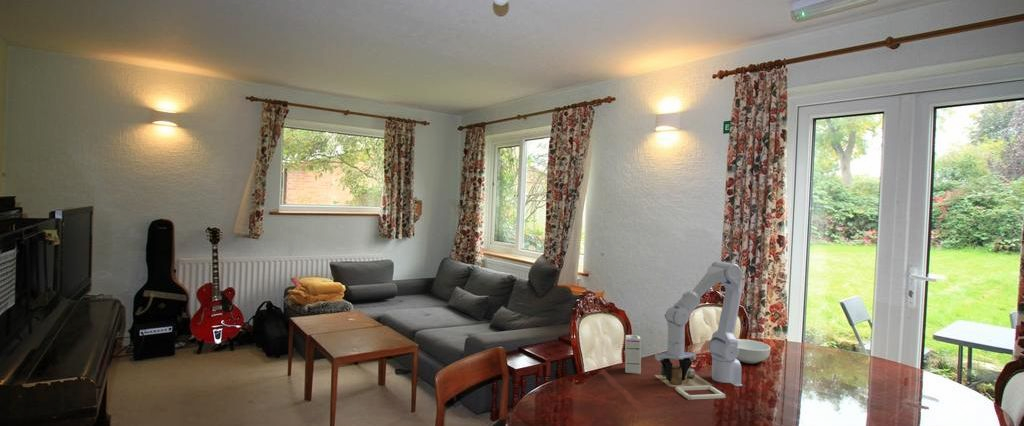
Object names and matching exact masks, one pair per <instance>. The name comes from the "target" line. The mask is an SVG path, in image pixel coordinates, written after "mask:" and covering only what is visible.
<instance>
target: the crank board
mask: <svg viewBox="0 0 1024 426" xmlns="http://www.w3.org/2000/svg"><path fill="white" fill-rule="evenodd" d="M654 376H655V378H657V379H659V381H661V382H663V383H664V384H665V385H666V386H668V387H673V388H675V387H681V386H704V385H711V386H713V384H712V383H710V382H709V381H707V380H705V379H703V378H702V377H700V376H699V375H698V374H696V373H695V377H693V378H691V377H687V376H686V377H685V380H684V381H683V380H682V384H681V385H673V384H670V383H669V381H668V380H667V379H666V377H662V376H661V374H654Z"/></svg>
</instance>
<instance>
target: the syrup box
mask: <svg viewBox="0 0 1024 426" xmlns="http://www.w3.org/2000/svg"><path fill="white" fill-rule="evenodd" d="M641 342H642V340H641V336H640V335H638V334H637V335H636V334H625V337H624V346H625V347H624V359H625V360H624V367H625V369H624V371H625V373H627V374H628V373H629V374H638V375H639V374H640V375H641V372H642V367H641V366H642V365H641V364H642V361H641V360H642V353H641V352H642V347H641V346H642V345H641V344H642V343H641Z"/></svg>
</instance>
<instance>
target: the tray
mask: <svg viewBox="0 0 1024 426" xmlns="http://www.w3.org/2000/svg"><path fill="white" fill-rule="evenodd" d="M674 390H675V392H677V393H679V394H680V395H682V396H683V397H684V398H685V399H687V400H692V401H693V400H710V399H711V400H712V399H726V397H727V396H726V394H725V393H724V392H722V391H720V390H719V389H717V388H716V387H714V386H713V385H700V386H676V387H674ZM705 390H709V391H711V392H712V393H710V394H709V393H708V394H707V393H706V394H689V393H687V392H686V391H705Z"/></svg>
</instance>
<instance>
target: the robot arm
mask: <svg viewBox="0 0 1024 426" xmlns="http://www.w3.org/2000/svg"><path fill="white" fill-rule="evenodd" d="M743 271H744V270H742V268H741V267H740V265H739V264H737V263H733V262H724V261H721V260H716V261H714V262H712V263H711V265H710V266H708V268H707V271H706V273H705V274H704V276H703V277H702V278H701V280H699V282H698V283H697V284H696V286H695V287H694V288H693V289H692V291H691V290H690V291H686V292H683V293H682V297H681V298H679V300H678V301H677V302H674V305H673V306H670V307H668V308H667V310H666V311H665V313H664V319H665V321H666V322H667V350H666V352H661V353H655V355H654V356H655V357H654V358H655V360H656V361H658V362H660V363H661V365H662V366H663V368H664V371H665V375H666V379H667V380H668V381H671V369H672V366H674V365H673V363H672V362H671V360H672V361H673V360H678V363H679V366H680V367H682V380H683V381H684V380H685V377H686V374H687V371H688V369H689V368H691V366H692V360H697V354H696V353H695V352H685V344H686V343H685V337H686V335H685V334H686V333H685V332H686V329H685V328H686V324H687V323H688V322H689V321H690V319H689V318H690V316H691V314H692V312H693V311H694V310H695V309H697V307H698V306H699V305H700V304H701V297H703V295H705V293H707V292H708V291H709V290H710V289H711V288H712V287H713V286H714V285H715V284H718V283H721V284H722V285H723V287H724V288H725V291H724V296H723V301H722V302H723V303H722V307H721V311H720V317H719V321H718V322H719V323H718V326H717V327H718V328H717V330H716V331H715V332H713V333H712V335H711V337H710V338H711V339H710V340H709V342H708V345H707V349H708V351H709V353H711V354H710V355H711V357H712V358H711V359H712V360H711V379H712V380H713V381H715V382H718V383H724V384H725V383H726V384H729V383H730V384H732V385H733V386H736V387H743V384H742V364H741V361H739V360H738V359H736V358H737V356H738V353H739V350H738V340H737V339H738V338H736V335H735V329H736V325H737V321H738V316H739V308H740V305H741V299H742V294H743V289H744V285H743V284H744V283H743V280H742V278H743V273H744V272H743Z"/></svg>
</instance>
